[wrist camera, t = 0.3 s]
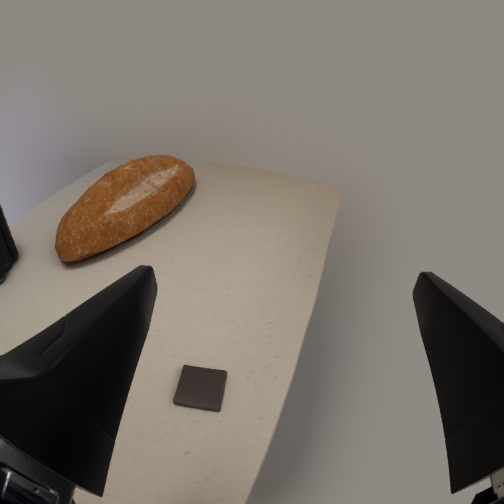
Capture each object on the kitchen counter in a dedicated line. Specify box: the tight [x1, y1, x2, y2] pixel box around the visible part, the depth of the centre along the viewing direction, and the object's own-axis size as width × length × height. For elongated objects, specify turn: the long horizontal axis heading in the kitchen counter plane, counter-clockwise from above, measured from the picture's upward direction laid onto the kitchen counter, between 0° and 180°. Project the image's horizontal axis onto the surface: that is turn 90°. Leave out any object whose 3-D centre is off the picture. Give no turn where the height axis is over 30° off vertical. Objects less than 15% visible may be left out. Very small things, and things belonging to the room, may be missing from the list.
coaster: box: [173, 365, 227, 412], centre depth 24 cm, size 4×4×1 cm
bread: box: [55, 155, 195, 262], centre depth 48 cm, size 18×35×9 cm, turn 159°
